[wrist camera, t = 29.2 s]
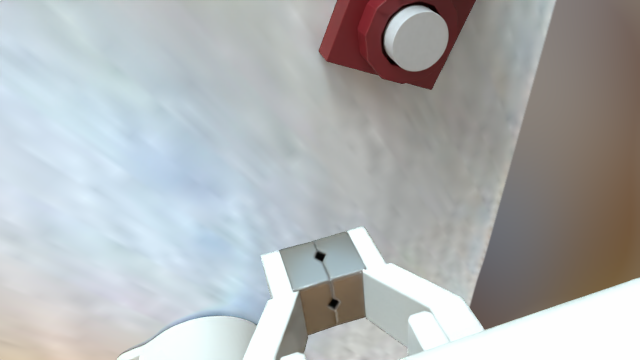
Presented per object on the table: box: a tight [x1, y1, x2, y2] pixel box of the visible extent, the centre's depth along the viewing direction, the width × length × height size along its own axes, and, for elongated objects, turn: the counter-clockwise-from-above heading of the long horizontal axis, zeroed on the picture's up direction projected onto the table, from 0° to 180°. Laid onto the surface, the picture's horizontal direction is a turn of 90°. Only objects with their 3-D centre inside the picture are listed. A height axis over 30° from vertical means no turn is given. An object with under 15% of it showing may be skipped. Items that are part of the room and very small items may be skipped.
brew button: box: [383, 5, 449, 72], centre depth 36 cm, size 4×4×2 cm
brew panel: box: [319, 0, 476, 90], centre depth 38 cm, size 8×10×4 cm
